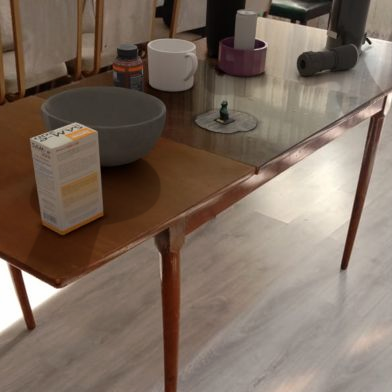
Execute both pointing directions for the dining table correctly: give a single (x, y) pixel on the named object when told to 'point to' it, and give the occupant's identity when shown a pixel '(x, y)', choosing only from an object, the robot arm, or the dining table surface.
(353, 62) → the flashlight
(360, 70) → the dining table surface
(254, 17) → the beverage can
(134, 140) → the bowl
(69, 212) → the supplement box
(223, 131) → the sculpture
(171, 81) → the mug
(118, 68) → the supplement bottle
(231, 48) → the plum bowl
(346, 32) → the robot arm
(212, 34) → the portable speaker
